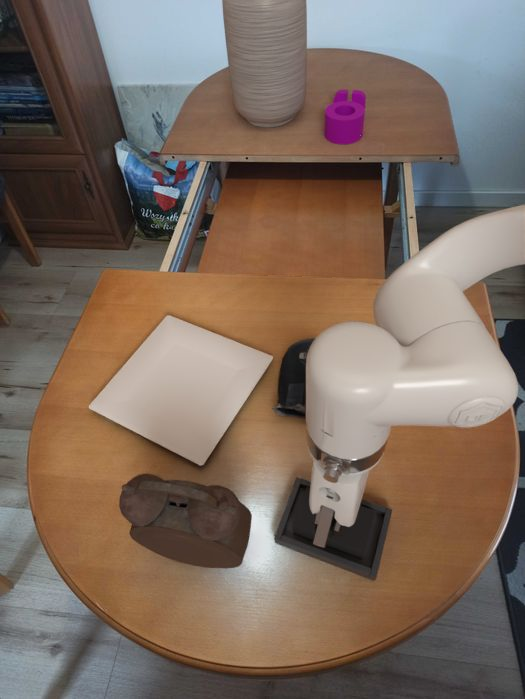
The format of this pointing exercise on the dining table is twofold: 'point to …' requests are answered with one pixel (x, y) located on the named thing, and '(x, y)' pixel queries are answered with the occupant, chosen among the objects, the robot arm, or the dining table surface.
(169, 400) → the plate
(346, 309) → the dining table surface
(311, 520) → the black rectangular block
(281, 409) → the electronic device
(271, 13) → the vase
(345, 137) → the magenta ring with prongs
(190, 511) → the alarm clock
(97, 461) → the dining table surface
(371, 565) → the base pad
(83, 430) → the dining table surface
